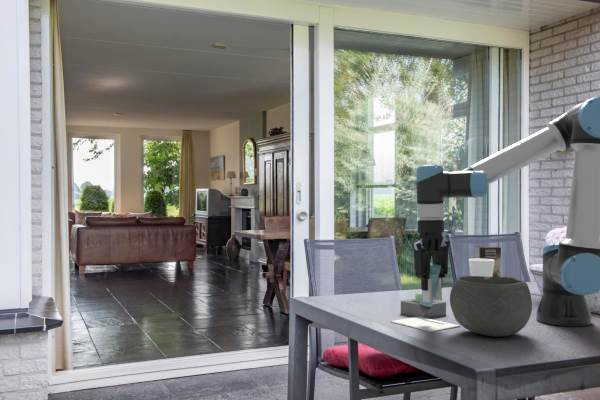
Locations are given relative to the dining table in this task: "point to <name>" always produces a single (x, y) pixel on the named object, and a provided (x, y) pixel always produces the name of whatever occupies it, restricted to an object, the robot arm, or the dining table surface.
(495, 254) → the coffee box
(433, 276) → the marker
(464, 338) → the dining table surface
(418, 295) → the button
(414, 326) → the paper
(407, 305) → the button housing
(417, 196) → the robot arm
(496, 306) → the bowl
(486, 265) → the foam cup
